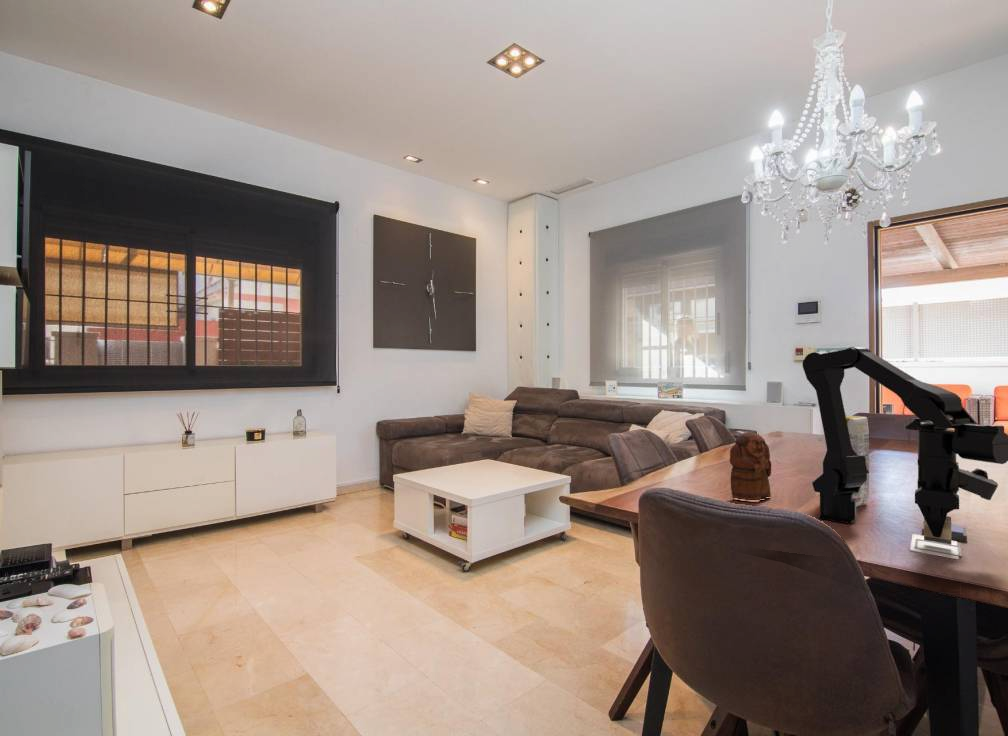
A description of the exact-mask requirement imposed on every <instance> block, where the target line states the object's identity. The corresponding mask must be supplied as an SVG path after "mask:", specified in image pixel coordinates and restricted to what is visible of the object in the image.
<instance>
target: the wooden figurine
mask: <svg viewBox="0 0 1008 736" xmlns="http://www.w3.org/2000/svg"><path fill="white" fill-rule="evenodd" d="M729 463H730V465H731V466H732V467H731V473H730V489H731V490H730V491H731V495H732V497H731V498H732V499H733V498H738V499H745V500H760V499H766V497H771V498H772V495H771V494H772V493H771V485H770V481H769V478H770V477H771V475H772V462H771V452H770V448H769V445H768V444H767V443H766V440H765V439H764V437H763V435H760V434H759V433H756V432H744V433H741V434H740V435H739V436H738V437H736V439H735V441H734V444H733V445H732V446H731V447H730V450H729Z"/></svg>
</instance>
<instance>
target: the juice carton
mask: <svg viewBox="0 0 1008 736" xmlns="http://www.w3.org/2000/svg"><path fill="white" fill-rule="evenodd" d="M845 416H846V421H847V426H848V431H849V436H850V441H851V446H852V449H853V450H854V451H855V453H856V454H857V455H858V456H861V455H864V456H865V459H866V467H867V470H868V471H869V473H868V474H867V480H866V482H865V483H864V484H863V485H861V488H860V490H859V492H858V493H853V500H856V508H857V507H859V506H864V505H867V504H868V502H869V495H870V448H869V447H870V439H869V438H870V433H869V431H870V429H869V422H868V417H867V416H861V415H848V414H847V412H846V411H845ZM826 452H827V446H826V441H825V440H824V456H825V455H826Z"/></svg>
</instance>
